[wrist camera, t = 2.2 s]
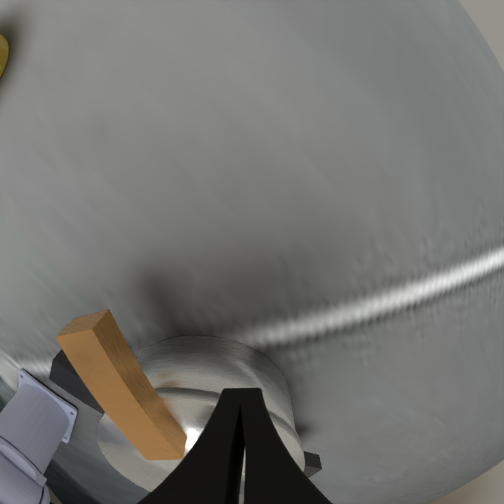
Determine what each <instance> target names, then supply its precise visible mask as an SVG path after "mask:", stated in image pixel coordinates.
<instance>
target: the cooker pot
mask: <svg viewBox="0 0 504 504" xmlns="http://www.w3.org/2000/svg"><path fill="white" fill-rule="evenodd" d="M136 360H137V362H138V364H139V365H140V367H141V369H142V370H143V372H144V374H145V375H146V377H147V378H148V380H149V382H150V383H151V385H152V386H153V388H160V387H180V388H191V389H200V390H206V391H213V392H217V393H221V392H222V390H223V389H224V388H258V387H259V388H260V389H262V393H263V398H264V401H265V405H266V408H267V410H269V411H271V412H273V413H274V414H276V415H278V416H279V417H281V418H282V419H284V420H285V421H286V422H287V423H288V424H289V425H291V426H292V428H293V429H294V430H295V424H294V417H293V411H292V405H291V398H290V392H289V388H288V384H287V382H286V380H285V378H284V376H283V374H282V373H281V372H280V370H279V369H278V368H277V367H276V366H275V365H274V364H273V363H272V362H271V361H270V360H269V359H268V358H266V357H265V356H264V355H262V354H261V353H259V352H257V351H256V350H254V349H252V348H250V347H248V346H245V345H243V344H241V343H238V342H235V341H232V340H228V339H224V338H219V337H213V336H205V335H188V336H179V337H174V338H169V339H166V340H163V341H160V342H158V343H156V344H154V345H152V346H150V347H149V348H147V349H146V350H145V351H143V352H142V353H141V354H140V355H139V356H138V358H137V359H136ZM49 379H50V380H51V381H53V382H54V383H56V384H57V385H58V386H60V387H61V388H63V389H64V390H66V391H67V392H69V393H70V394H72V395H73V396H75V397H76V398H78V399H79V400H81V401H82V402H84V403H85V404H87V405H89V406H90V407H92V408H94V409H95V410H97V411H99V412H100V413H102V414H103V413H104V410H103V408H102V407H101V406H100V405H99V403H98V402H97V400H96V399H95V398H94V396H93V395H92V394H91V392H90V391H89V389H88V388H87V387H86V385H85V384H84V382H83V381H82V379H81V378H80V376H79V375H78V373H77V372H76V370H75V369H74V367H73V366H72V364H71V362H70V361H69V359H68V358H67V356H66V354H65V353H64V351H63V349H62V350H61V351H60V352H59V353H58V354H57V355H56V357H55V358H54V359H53V362H52V367H51V372H50V377H49ZM295 431H296V430H295ZM303 452H304V458H305V468H304V471H303V473H304V474H305V475H306V476H307V477H308V478H309V477H311V476H312V475H314V474H315V473H317V472H318V471H320V470H321V469H322V467H321V462H320V457H319V455H317V454H313V453H309V452H305V451H303Z"/></svg>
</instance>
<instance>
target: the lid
mask: <svg viewBox="0 0 504 504" xmlns="http://www.w3.org/2000/svg"><path fill="white" fill-rule="evenodd" d="M56 339H57V341H58V343H59V344H60V346H61V348H62V349H63V351H64V353H65V354H66V356H67V358H68V359H69V361H70V362H71V364H72V366H73V367H74V369H75V370H76V372H77V373H78V375H79V376H80V378H81V379H82V381H83V382H84V384H85V385H86V387H87V388H88V389H89V391H90V392H91V394H92V395H93V396H94V398H95V399H96V400H97V402H98V403H99V405H100V406H101V407H102V408H103V410H104V413H103V415H102V417H101V419H100V421H99V423H98V426H97V429H96V438H97V443H98V446H99V448H100V450H101V452H102V454H103V455H104V457H105V458H106V459H107V461H108V462H109V463H110V464H111V465H112V466H113V467H114V468H115V469H116V470H117V471H118V472H119V473H121V474H122V475H123V476H124V477H126V478H127V479H129V480H130V481H132V482H133V483H135V484H137V485H138V486H140V487H142V488H144V489H146V490H148V491H150V492H152V491H153V490H154V489H155V488H156V487H157V486H158V485H159V484H161V483H162V482H163V481H164V480H165V479H166V477H167V476H168V475H169V474H170V473H171V472H172V471H173V470H174V469H175V468H176V467H177V466H178V464H179V463H180V462H181V461H182V460H183V458H184V457H185V456H186V454H187V453H188V452H189V450H190V449H191V448H192V446H193V445H194V443H195V442H196V440H197V439H198V437H199V436H200V434H201V433H202V431H203V429H204V428H205V426H206V424H207V422H208V420H209V419H210V417H211V415H212V413H213V411H214V409H215V407H216V405H217V402H218V400H219V397H220V395H221V393H217V392H213V391H206V390H200V389H191V388H180V387H160V388H153V386H152V385H151V383H150V382H149V380H148V378H147V377H146V375H145V374H144V372H143V370H142V369H141V367H140V365H139V364H138V362H137V360H136V358H135V357H134V355H133V353H132V352H131V350H130V348H129V346H128V344H127V343H126V341H125V339H124V337H123V335H122V333H121V332H120V330H119V328H118V326H117V324H116V322H115V320H114V318H113V316H112V314H111V312H110V310H109V309H108V310H104V311H101V312H97V313H93V314H89V315H86V316H82V317H78V318H74V319H73V320H72V321H71V322H70V323H69V324H68V325H67V326H66V327H65V328H64V329H63V330H62V331H61V332H60V333H59V334H58V335H57V336H56ZM268 413H269V415H270V418H271V420H272V422H273V424H274V426H275V428H276V430H277V432H278V434H279V436H280V438H281V440H282V442H283V443H284V445H285V447H286V448H287V450H288V451H289V453H290V455H291V456H292V458H293V459H294V460H295V462H296V463H297V465H298V466H299V467H300V469H301V470H302V471H304V468H305V458H304V452H303V447H302V443H301V440H300V438H299V436H298V434H297V432H296V431H295V430H294V429H293V428H292V426H291V425H289V424H288V423H287V422H286V421H285V420H284V419H282V418H281V417H279V416H278V415H276V414H274V413H273V412H271V411H269V410H268ZM244 483H245V452H244V461H243V470H242V478H241V487H240V496H239V504H244Z"/></svg>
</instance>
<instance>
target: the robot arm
mask: <svg viewBox="0 0 504 504" xmlns="http://www.w3.org/2000/svg"><path fill="white" fill-rule="evenodd" d="M77 413H78V411H77V409H76V408H75V407H73V406H72V405H70V404H69V403H67V402H66V401H64V400H63V399H61V398H60V397H59V396H57V395H56V394H54V393H53V392H52V391H50V390H49V389H47V388H46V387H45V386H43V385H42V384H41V383H39V382H38V381H37V380H35V379H34V378H33V377H32V376H30V375H29V374H28V373H27V372H25V371H24V370H23V369H20V370H19V376H18V391H17V393H16V394H15V395H14V396H13V398H12V399H11V400H10V401H9V403H8V404H7V405H6V406H5V408H4V409H3V410H2V412H1V413H0V504H49V502H50V496H49V491H48V488H47V487H46V486H45V485H44V484H45V482H46V480H47V479H46V478H45V477H44V476H43V474H44V472H45V470H46V468H47V466H48V464H49V462H50V460H51V458H52V457H53V455H54V453H55V451H56V449H57V447H58V445H59V444H60V442H61V440H62V441H63V442H65V443H68V442H69V439H70V436H71V432H72V429H73V426H74V422H75V419H76V416H77ZM244 452H245V483H244V504H332V503H331V502H330V501H329V500H328V499H327V498H326V497H325V496H324V495H323V494H322V493H321V492H320V491H319V490H318V489H317V488H316V487H315V485H314V484H313V483H312V482H311V481H310V480H309V479H308V477H307V476H306V475H305V474H304V473H303V471H302V470H301V469H300V467H299V466H298V465H297V463H296V462H295V460H294V459H293V458H292V456H291V455H290V453H289V451H288V450H287V448H286V447H285V445H284V443H283V442H282V440H281V438H280V436H279V434H278V432H277V430H276V428H275V426H274V424H273V422H272V420H271V418H270V415H269V413H268V410H267V408H266V405H265V401H264V398H263V393H262V389H260V388H259V387H258V388H224V389H223V390H222V392H221V395H220V397H219V400H218V402H217V405H216V407H215V409H214V411H213V413H212V415H211V417H210V419H209V420H208V422H207V424H206V426H205V428H204V429H203V431H202V433H201V434H200V436H199V437H198V439H197V440H196V442H195V443H194V445H193V446H192V448H191V449H190V450H189V452H188V453H187V454H186V456H185V457H184V458H183V460H182V461H181V462H180V463H179V464H178V466H177V467H176V468H175V469H174V470H173V471H172V472H171V473H170V474H169V475H168V476H167V477H166V479H165V480H164V481H163V482H162V483H161V484H159V485H158V486H157V487H156V488H155V489H154V490H153V491H152V492H150V493H149V494H148V495H147V496H146V497H144V498H143V499H142V500H141V501H139V502H138V503H137V504H239V496H240V487H241V478H242V470H243V461H244Z"/></svg>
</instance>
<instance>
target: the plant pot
mask: <svg viewBox="0 0 504 504" xmlns="http://www.w3.org/2000/svg"><path fill="white" fill-rule="evenodd" d="M8 54H9V45H8V42H7V40H6V38H4V37H3V36H2V35H1V34H0V78H1V75H2V73H3V71H4V69H5V66H6V63H7V59H8Z"/></svg>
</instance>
